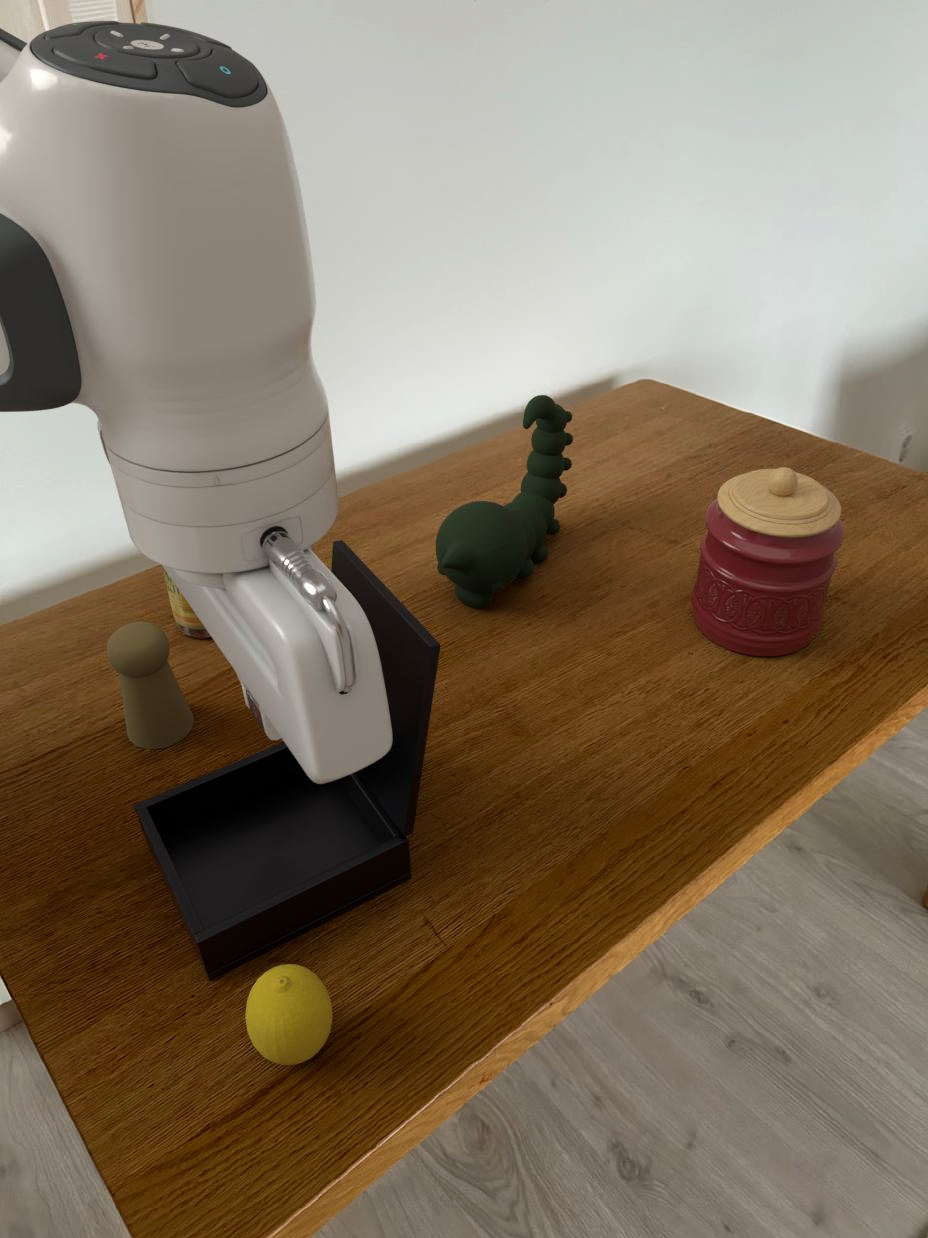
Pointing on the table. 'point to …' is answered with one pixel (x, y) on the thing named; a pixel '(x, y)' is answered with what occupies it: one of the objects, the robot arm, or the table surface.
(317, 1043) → the lemon
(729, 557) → the kitchen canister
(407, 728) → the lid
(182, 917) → the black box base
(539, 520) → the toy figurine
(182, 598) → the sauce bottle
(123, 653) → the cork
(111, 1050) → the table surface
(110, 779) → the table surface
